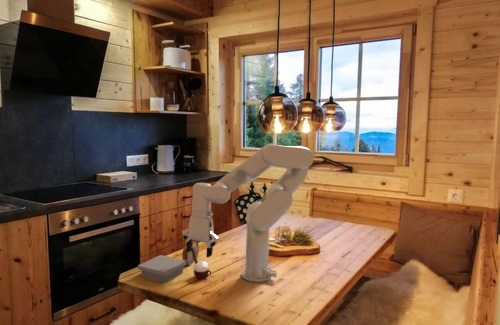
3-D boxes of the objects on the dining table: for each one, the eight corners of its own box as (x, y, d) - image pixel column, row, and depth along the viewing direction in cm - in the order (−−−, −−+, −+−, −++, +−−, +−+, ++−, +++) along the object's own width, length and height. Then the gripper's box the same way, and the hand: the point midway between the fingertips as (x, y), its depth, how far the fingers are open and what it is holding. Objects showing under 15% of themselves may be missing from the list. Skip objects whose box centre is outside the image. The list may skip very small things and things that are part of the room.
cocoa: (213, 279, 150) (215, 251, 148) (200, 283, 145) (203, 254, 144) (199, 271, 156) (201, 244, 155) (187, 274, 152) (189, 247, 150)
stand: (186, 272, 155) (186, 260, 154) (165, 284, 142) (165, 272, 142) (160, 265, 161) (160, 254, 160) (137, 277, 148) (137, 265, 148)
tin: (187, 268, 159) (187, 249, 158) (180, 267, 160) (181, 248, 159) (199, 256, 174) (199, 239, 173) (193, 255, 175) (193, 238, 174)
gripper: (224, 215, 147) (221, 255, 149) (188, 208, 155) (187, 247, 156) (214, 218, 141) (212, 261, 142) (178, 211, 148) (176, 252, 150)
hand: (199, 253), depth 149 cm, fingers open, 9 cm apart
